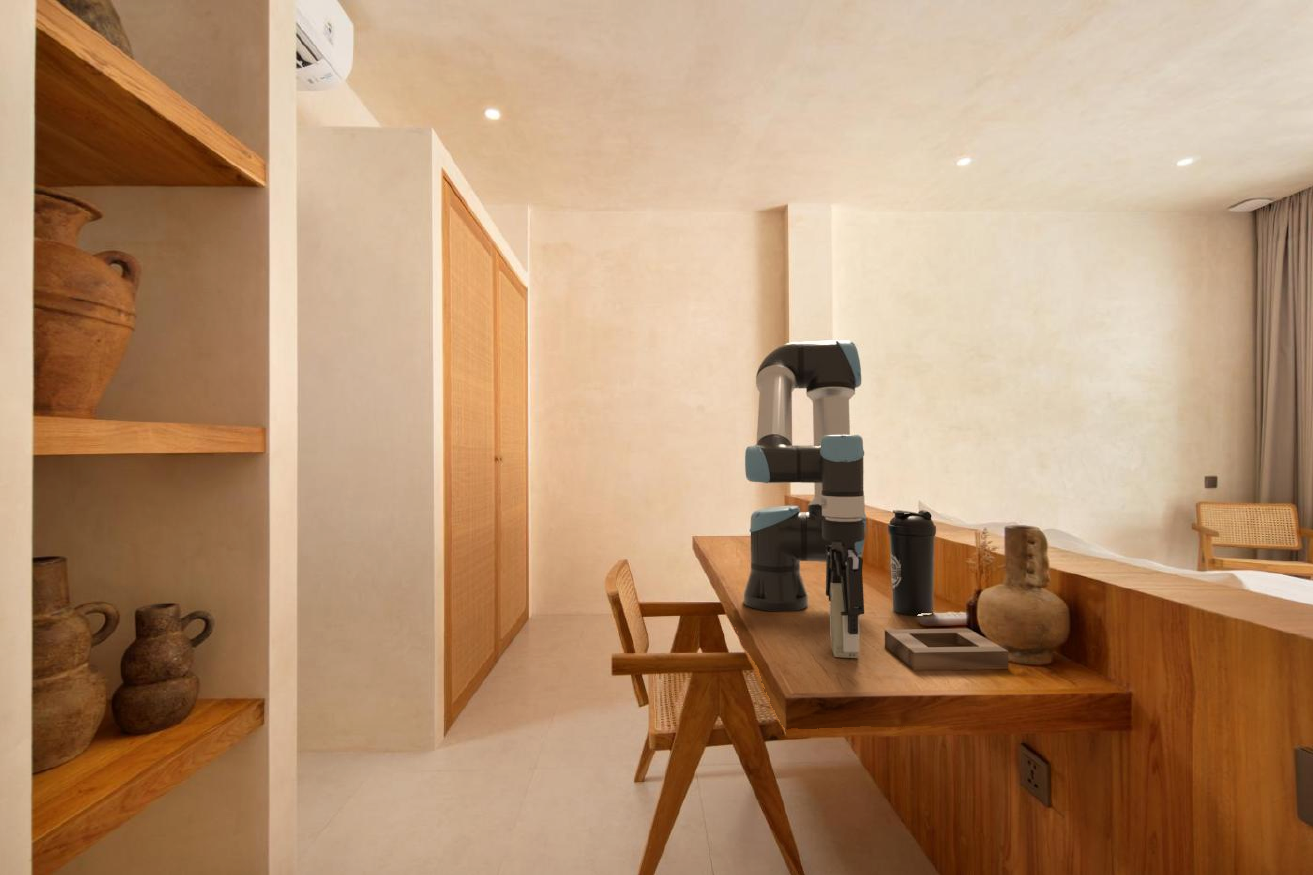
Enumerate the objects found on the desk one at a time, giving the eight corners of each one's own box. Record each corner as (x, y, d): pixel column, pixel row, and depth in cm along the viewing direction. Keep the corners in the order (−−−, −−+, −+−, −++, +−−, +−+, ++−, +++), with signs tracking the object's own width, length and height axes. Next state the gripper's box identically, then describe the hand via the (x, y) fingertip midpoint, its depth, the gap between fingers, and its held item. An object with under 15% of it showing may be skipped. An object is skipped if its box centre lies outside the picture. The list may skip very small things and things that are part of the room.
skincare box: (859, 659, 110) (858, 590, 109) (833, 658, 110) (833, 589, 110) (854, 647, 116) (854, 582, 116) (830, 646, 117) (830, 581, 117)
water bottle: (884, 605, 147) (883, 508, 147) (929, 606, 145) (928, 508, 146) (894, 616, 137) (893, 512, 137) (943, 618, 135) (941, 513, 136)
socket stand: (884, 645, 117) (884, 629, 117) (968, 644, 117) (968, 628, 117) (914, 670, 104) (914, 652, 104) (1008, 668, 104) (1008, 651, 104)
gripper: (808, 512, 123) (809, 628, 123) (839, 525, 103) (841, 663, 103) (845, 512, 123) (847, 627, 123) (883, 525, 103) (885, 662, 103)
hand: (844, 643), depth 113 cm, fingers closed on skincare box, 7 cm apart
